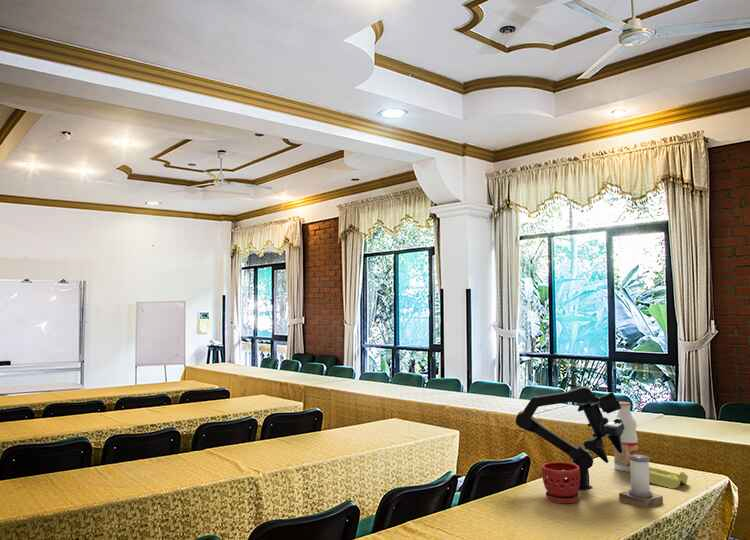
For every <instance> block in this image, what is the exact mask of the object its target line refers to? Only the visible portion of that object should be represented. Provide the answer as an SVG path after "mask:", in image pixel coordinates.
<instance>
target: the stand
mask: <svg viewBox="0 0 750 540" xmlns="http://www.w3.org/2000/svg"><path fill="white" fill-rule="evenodd" d="M618 496H619V502H620V501H621V502H623V503H627V504H629V503H630V505H633V506H636V507H639V508H642V507H643V508H642V509H648V508H651V506H652V507H655V506H659V505H662V504H664V503H663V502H664V499H663V497H664V496H663V495H660V494H658V493H657V494H656V493H653V492H652V497H650V498H640V497H635V496H632V495H630V494H629V490H626V491H623V492H619V493H618Z"/></svg>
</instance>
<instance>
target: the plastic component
mask: <svg viewBox="0 0 750 540" xmlns="http://www.w3.org/2000/svg"><path fill="white" fill-rule="evenodd" d="M688 478H689V477H688V475H687V474H686V473H685V472H683V471H680V473H674V472H670V471H667V470H662V469H659V468H654V467H650V466H649V483H650V484H652V485H656V486H660V487H663V486H664V488H667V487H668V489H672V490H673V489H677V488H678V487H680V485H681V484H682V485H687V483H688Z"/></svg>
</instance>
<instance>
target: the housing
mask: <svg viewBox="0 0 750 540" xmlns="http://www.w3.org/2000/svg"><path fill="white" fill-rule="evenodd" d="M629 459H630V472H629V473H630V489H628V491H629V494H630V495H632V496H635V497H640V498H650V497H652V493H653V492H652V491H651V490H650V489H651V488H650V484H651V483H650V482H649V467H650V457H649V456H648V455H643V454H638V455H630V456H629Z"/></svg>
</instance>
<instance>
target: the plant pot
mask: <svg viewBox="0 0 750 540" xmlns="http://www.w3.org/2000/svg"><path fill="white" fill-rule="evenodd" d="M541 476H542V483H543V485H544V488H545V489H546V492H545V497H546V498H547V499H548V500H550V501H551V502H554V503H559V504H560V505H561V504H574V503H576V502H577V501H579V499H580V498H581V496H580V493H578V492H579V491H580V489H579V486H580V467H579V466H578V465H576V464H573V463H571V462H565V461H551V462H546V463H543V464H542V465H541Z"/></svg>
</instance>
